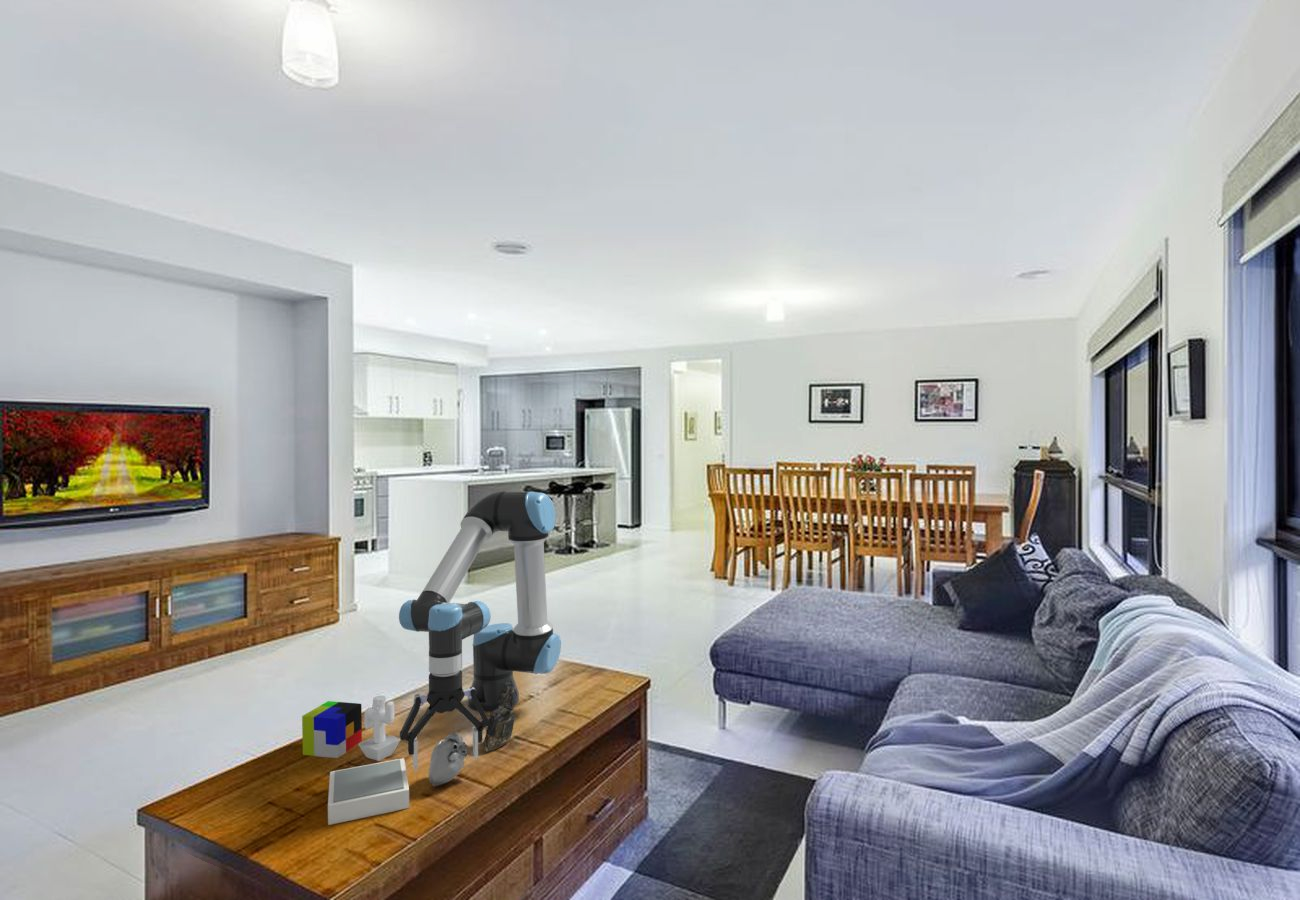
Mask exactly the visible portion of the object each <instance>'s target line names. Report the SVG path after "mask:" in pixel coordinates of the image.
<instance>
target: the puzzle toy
mask: <svg viewBox="0 0 1300 900" xmlns="http://www.w3.org/2000/svg"><path fill="white" fill-rule="evenodd" d="M362 715H363V713H362V703H358V702H357V703H356V702H343V701H334V700H332V701H331V700H328V701H326V702H323V703H322V704H321V705H318V706H317V707H315V708H314V709H312V710H310V711H309V712H306V713H305V714H303V715H302V716H301V722H302V724H301V725H302V726H301V727H302V728H301V730H302V732H301V733H302V755H303V756H311V757H312V756H313V757H323V758H331V759H333V758H334V759H338V758H340V757H341V756H343V755H345V754H346V753H347V752H348V751H350V750H351V749H353V748H354V747H355V746H357V745H358V744H359V743H361V742H363V728H362V727H363V725H362V724H363V722H362V721H363V719H362V717H363V716H362Z"/></svg>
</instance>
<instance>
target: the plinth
mask: <svg viewBox="0 0 1300 900" xmlns="http://www.w3.org/2000/svg"><path fill="white" fill-rule="evenodd" d="M328 785H329V786H328V797H327V824H328V826H330V825H335V824H339V823H345V822H349V821H354V820H359V819H363V818H369V817H372V816H378V815H382V814H386V813H392V812H397V811H402V810H406V809H409V808H410V788H409V781H408V773H407V767H406V761H405V757H403V758H397V759H391V760H386V761H381V762H377V763H369V764H365V765H360V766H353V767H349V768H343V769H337V770H333V771H329V784H328Z"/></svg>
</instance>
